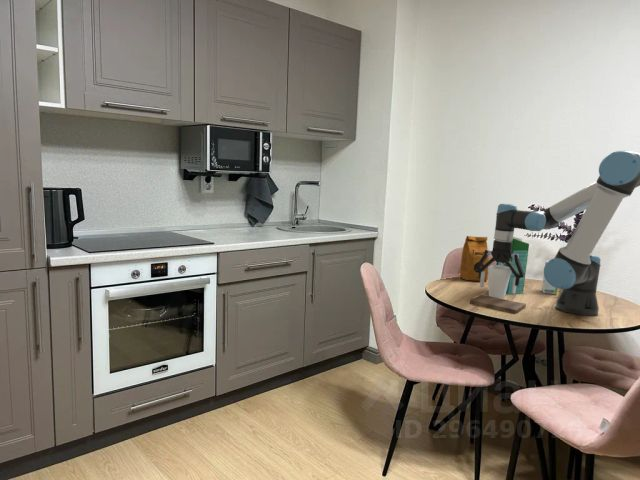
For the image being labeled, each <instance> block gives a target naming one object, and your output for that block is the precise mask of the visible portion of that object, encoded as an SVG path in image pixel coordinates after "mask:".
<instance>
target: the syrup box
mask: <svg viewBox="0 0 640 480" xmlns="http://www.w3.org/2000/svg"><path fill="white" fill-rule="evenodd" d="M548 261H549V260H545V263H544V266H545V265H546V263H547V262H548ZM542 280H543V281H542V287H541V291H542V292H543V294H553V295H558V294H557V293H558V289H557V288H555V287H553V286H551V285H550V284H549V283H548V282H547V280H546V278H545V276H544V275H543V279H542Z"/></svg>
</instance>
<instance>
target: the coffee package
mask: <svg viewBox="0 0 640 480" xmlns="http://www.w3.org/2000/svg"><path fill="white" fill-rule="evenodd" d="M487 241H488V236H471V235H470V236H469V235H467V236H466V238H465V241H464V243H463V248H462V254H461V260H460V270H459V278H460V279H463V280H465V281H469V282H470V281H471V282H480V279H479V270H477V269H475V267H476V266H477V264H478V263H479V261H480V260H481V258H482V257H483V255H484V252H485V250H487V249H489V248H488V242H487ZM489 260H490V255H488V257H487V258H486V259H485V261H484V262H483V264H482V265H481V267H483V266H484V265H485V264H486V263H487V262H488V261H489ZM484 271H485V278H484V283H485V282H487V281H488V267H487V268H486V269H485V270H484Z"/></svg>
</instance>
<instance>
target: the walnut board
mask: <svg viewBox="0 0 640 480" xmlns="http://www.w3.org/2000/svg"><path fill="white" fill-rule="evenodd" d="M470 304H471V305H474V306H479V307H483V308H489V309H492V310H497V311H502V312H505V313H511V314H515V315H516V314H518V313H519V312H521V311H522V310H524V309H526V306H527V304H526V303H524V302H519V301H512V300H509V299H505V298H504V299H500V298H495V297H490V296H489V295H484V294H480V295H478V296H476V297H474V298H473V297H472V298H471V299H469V305H470Z"/></svg>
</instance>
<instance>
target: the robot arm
mask: <svg viewBox="0 0 640 480" xmlns="http://www.w3.org/2000/svg"><path fill="white" fill-rule="evenodd" d="M598 175H599V176H598V178H597V180H596V181H595V182H593V183H591V184H589V185H588V186H585V187H584V188H582V189H581V190H578V191H577V192H575V193H573V194H571V195H569V196H568V197H566V198H564V199H562V200H559V201H558V202H557V203H554V204H553V205H551V206H549V207H547V208H545V209H544V210H541V211H536V210H535V211H532V210H531V211H530V210H520V209H518V207H517V205H516V204H512V203H500V204H499V205H497V211H496V217H495V227H494V228H495V229H494V233H493V234H494V235H493V239H494V240H493V243H492V250H490V249H489V248H488V249H487V250H485V252H484V255H483V257H482V258H481V260H480V261H479V263H478V264H477V266H476V267H475V269H477V270H479V279H480V281H479V288H482V287H484V286H485V285H484V284H485V281H484V278H485V271H484V270H485V269H486V268H487V267H488V266H490V265H492V263H494V262H496V263H497V262H501V263H506V264H507V265H508V266H509V268H510V269H511V271H512V272H513V274H514V276H515V278H514V279H513V287H512V293H515V292H516V286H518V285H519V280H520V278H522V277H524V276H525V277H526V273H525V274H524V271H523V268H522V266H521V263H520V260H519V254H512V253H511V251H512V242H511V241H512V240H513V237H514V236H515V235H514V232H515V229H519V230H520V229H521V230H527V231H529V232H541V231H543V230H551V229H555V228H556V227H557V226H558V225H559V224H560V223H561V222H563V221H565V220H568V219H569V218H572V217H573V216H575V215H578V214H580V213H581V212H583V211H584V213H583V215H582V217H581V218H580V221H579V222H578V223H577V225H576V228H575V229H574V231H573V233H572V235H571V237H570V238H569V240H568V242H567V243H566V246H563V247H560V248H559V249H558V251H557V252H556V254H555V256H554V258H551V259H549V260H547V261H548V262H547V263H546V265H545V264H544V268H543V277H544V276H545V278H546V280H547V282H548V283H549V284H550V285H551V286H553V287H555V288H557V290H561V292H560V294H559V296H558V298H557V299H556V301H555V302H556V303H555V307H556V309H558V310H560V311H563V312H567V313H569V314H573V315H574V314H575V315H579V316H580V315H582V316H597V315H598V314H599V309H600V307H599V302H598V299H597V289H598V288H597V287H598V280H599V276H600V275H599V274H600V268H601V258H600V256H598V255H593V254H592V253H593V251H594V250H595V248H596V246H597V244H598V242H599V241H600V239H601V238H602V235H603V234H604V233H605V230H606V229H607V227H608V225H609V223H610V222H611V220H612V219H613V217H614V215H615V213H616V212H617V210H618V208H619V207H620V204H621V203H622V202H623V199H624V198H628V197H630V196H632V193H633V192H634V190H635V189H636V188H637V187H640V153H639V152H635V151H632V150H631V151H630V150H616V151H613V152H611V153H609V154H608V155H606V156H605V157H603V158H602V160H601V162H600V163H599V165H598ZM488 255H489V256H490V255H491V256H492V257H491V258H489V261H488V262H487V263H486V264H485V265H484V266H483V267H481V265H482V264H483V262H484V261H485V259H486V258H487V257H488ZM511 257H513V259H514V260H515V263H516V266H517V269H518V271H519V273H518V272H517V270H516V269H515V267H514V266H513V264H512V262H511V260H510V258H511ZM519 274H520V275H519Z"/></svg>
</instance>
